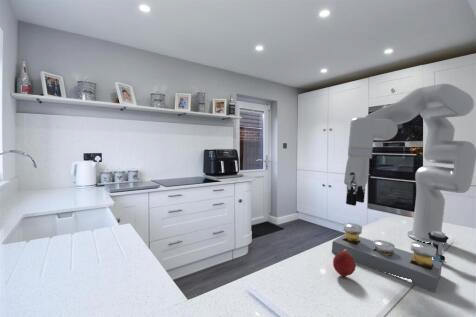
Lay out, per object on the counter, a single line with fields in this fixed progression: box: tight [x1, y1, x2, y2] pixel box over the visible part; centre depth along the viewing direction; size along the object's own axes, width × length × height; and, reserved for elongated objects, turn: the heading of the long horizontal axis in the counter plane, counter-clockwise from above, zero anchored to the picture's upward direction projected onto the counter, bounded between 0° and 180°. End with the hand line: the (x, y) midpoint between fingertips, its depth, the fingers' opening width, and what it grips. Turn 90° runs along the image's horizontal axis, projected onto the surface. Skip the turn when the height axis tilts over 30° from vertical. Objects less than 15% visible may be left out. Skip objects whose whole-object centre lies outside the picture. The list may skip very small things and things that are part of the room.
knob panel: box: [331, 234, 443, 293], centre depth 76 cm, size 13×28×4 cm, turn 43°
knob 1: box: [343, 222, 363, 245], centre depth 83 cm, size 6×6×6 cm
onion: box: [332, 249, 356, 278], centre depth 66 cm, size 6×6×8 cm
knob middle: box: [373, 239, 396, 256], centre depth 76 cm, size 6×6×6 cm
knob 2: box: [410, 241, 437, 269], centre depth 68 cm, size 6×6×6 cm
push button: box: [428, 231, 449, 266], centre depth 78 cm, size 7×5×10 cm
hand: (355, 202), depth 82 cm, fingers open, 6 cm apart
